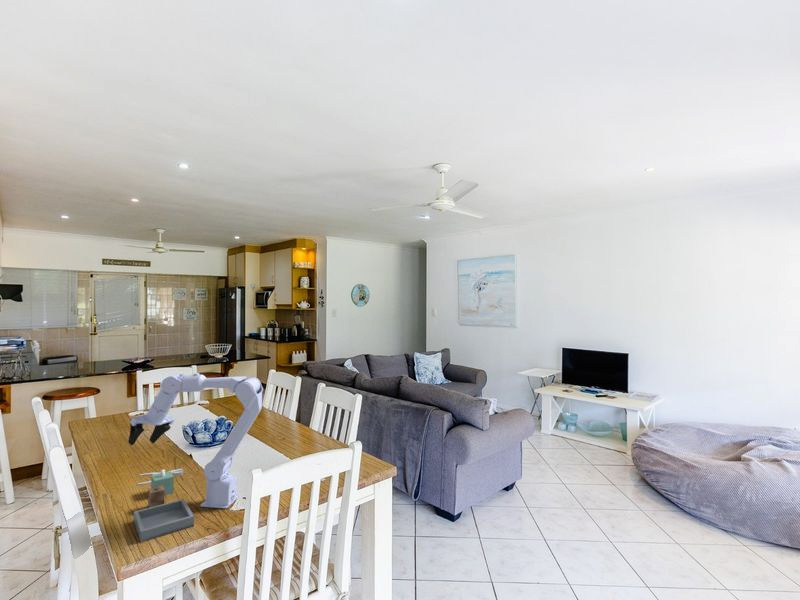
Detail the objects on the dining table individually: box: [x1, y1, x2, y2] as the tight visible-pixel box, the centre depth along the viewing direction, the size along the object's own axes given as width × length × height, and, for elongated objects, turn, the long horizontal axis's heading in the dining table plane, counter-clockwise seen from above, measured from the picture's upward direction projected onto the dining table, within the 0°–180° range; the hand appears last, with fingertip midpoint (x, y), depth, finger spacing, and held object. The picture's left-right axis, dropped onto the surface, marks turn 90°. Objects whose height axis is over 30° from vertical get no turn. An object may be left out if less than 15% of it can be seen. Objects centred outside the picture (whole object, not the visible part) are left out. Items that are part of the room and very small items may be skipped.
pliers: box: [137, 468, 184, 486], centre depth 159 cm, size 10×2×15 cm
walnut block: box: [147, 486, 166, 508], centre depth 136 cm, size 4×4×6 cm
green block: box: [150, 469, 175, 496], centre depth 146 cm, size 6×6×8 cm
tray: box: [133, 498, 195, 543], centre depth 126 cm, size 14×14×3 cm
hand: (141, 442), depth 139 cm, fingers open, 7 cm apart
